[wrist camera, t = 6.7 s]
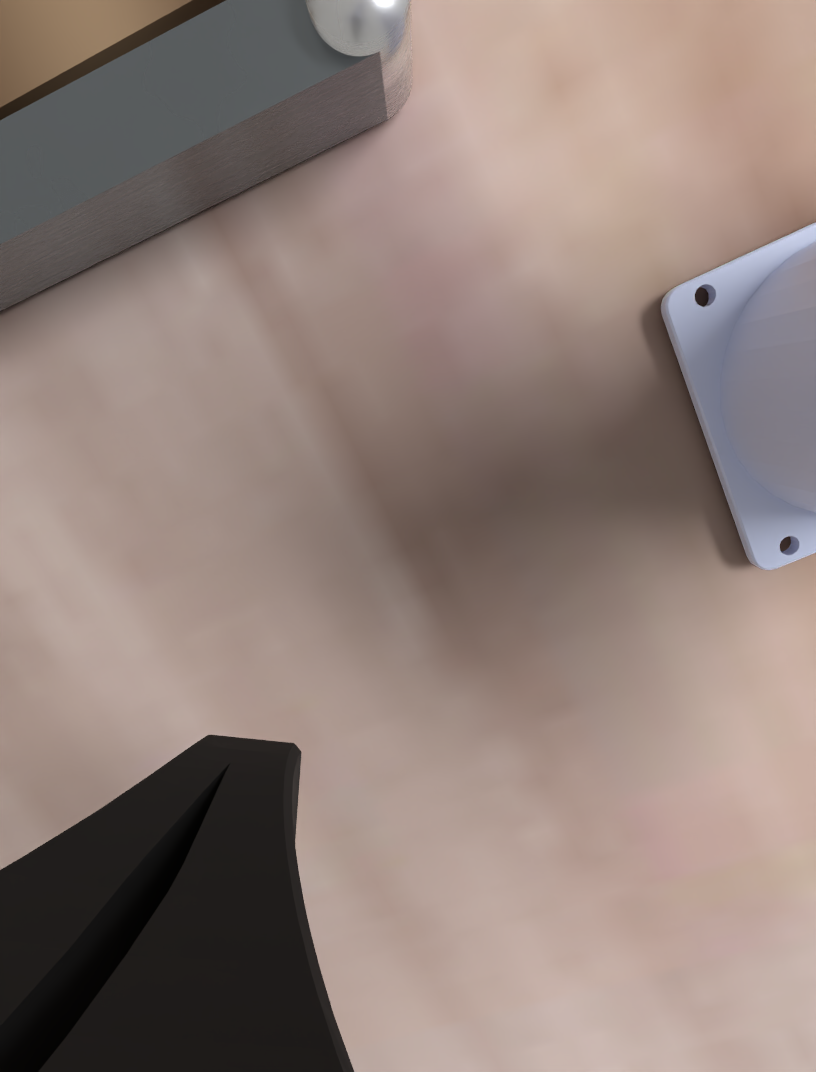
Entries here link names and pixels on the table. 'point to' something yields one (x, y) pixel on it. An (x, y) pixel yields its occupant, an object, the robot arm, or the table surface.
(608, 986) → the table surface
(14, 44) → the stool seat
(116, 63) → the hinged leg
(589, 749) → the table surface
